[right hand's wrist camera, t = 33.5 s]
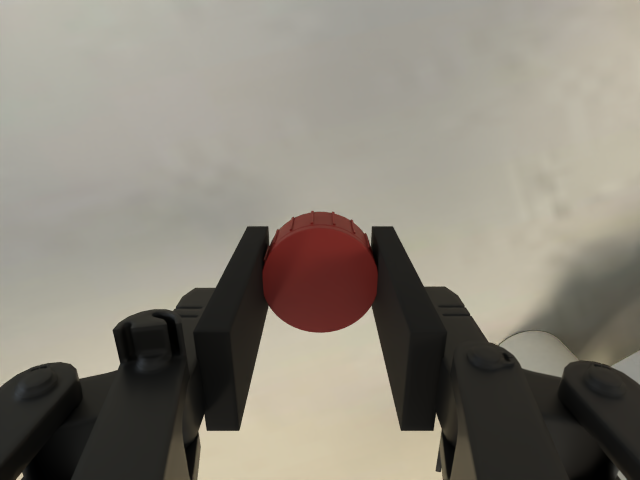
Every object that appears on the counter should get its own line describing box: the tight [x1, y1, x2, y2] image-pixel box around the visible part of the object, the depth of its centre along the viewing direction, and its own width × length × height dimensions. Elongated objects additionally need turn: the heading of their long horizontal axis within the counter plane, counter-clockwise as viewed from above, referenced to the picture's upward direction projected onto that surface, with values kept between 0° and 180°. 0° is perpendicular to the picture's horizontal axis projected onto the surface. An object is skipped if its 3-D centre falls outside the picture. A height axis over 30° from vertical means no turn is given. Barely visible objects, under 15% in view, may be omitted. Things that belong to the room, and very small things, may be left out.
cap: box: [262, 211, 378, 333], centre depth 14 cm, size 4×4×2 cm
